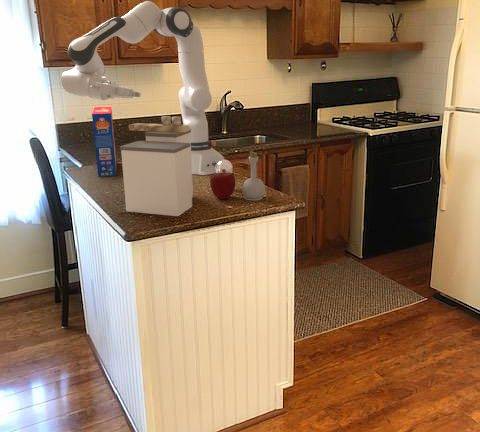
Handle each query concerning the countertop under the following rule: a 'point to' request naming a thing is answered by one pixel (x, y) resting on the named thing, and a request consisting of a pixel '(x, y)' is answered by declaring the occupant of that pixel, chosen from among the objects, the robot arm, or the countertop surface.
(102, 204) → the countertop surface
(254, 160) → the potion bottle
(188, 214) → the countertop surface
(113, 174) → the pasta box
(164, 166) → the counter block
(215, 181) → the apple
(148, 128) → the serving board
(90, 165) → the countertop surface
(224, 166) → the light bulb
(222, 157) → the robot arm
